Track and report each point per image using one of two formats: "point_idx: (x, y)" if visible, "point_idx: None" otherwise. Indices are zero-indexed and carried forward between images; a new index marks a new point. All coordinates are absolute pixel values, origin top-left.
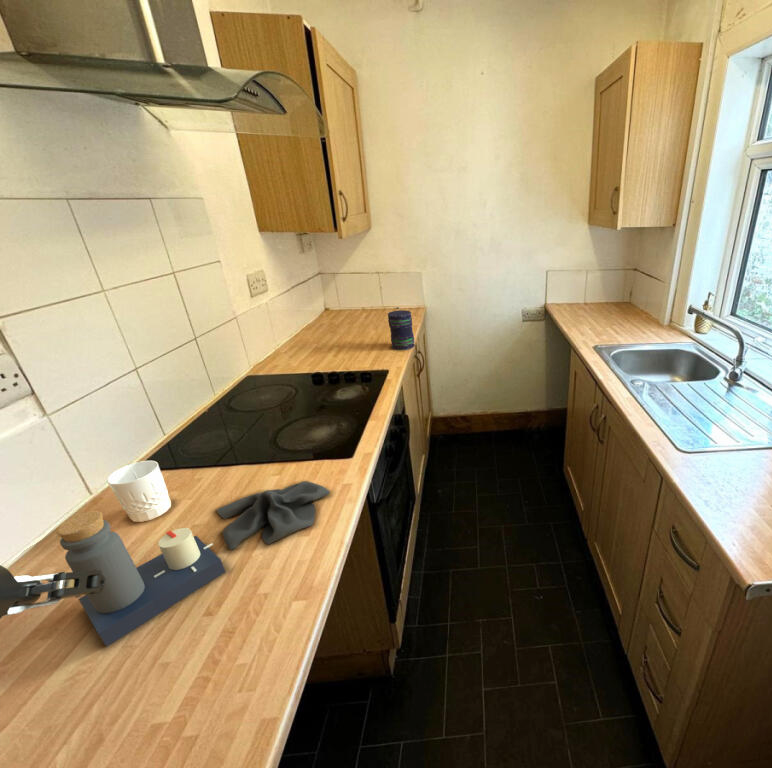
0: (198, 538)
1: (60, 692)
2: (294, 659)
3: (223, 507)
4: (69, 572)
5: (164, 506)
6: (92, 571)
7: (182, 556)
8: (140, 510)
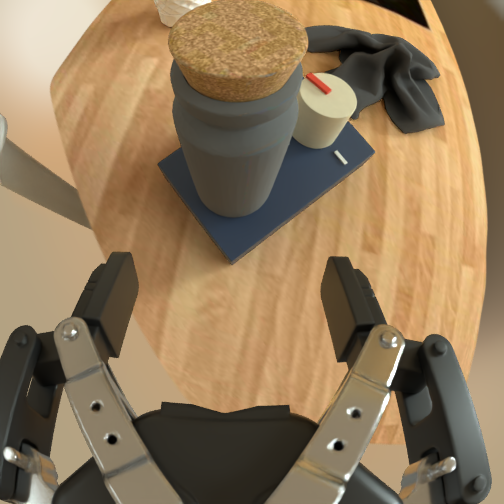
0: None
1: (201, 331)
2: (469, 354)
3: None
4: (489, 469)
5: None
6: (462, 377)
7: (334, 133)
8: (182, 12)
